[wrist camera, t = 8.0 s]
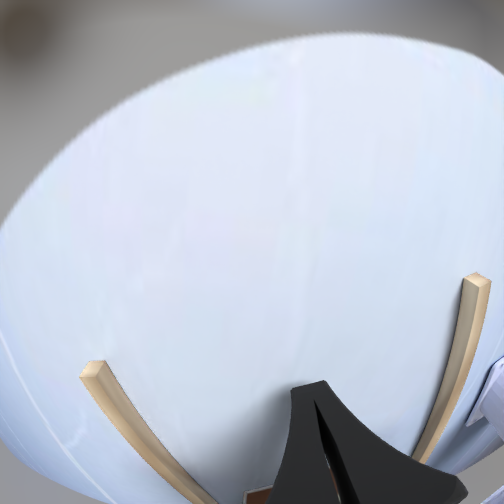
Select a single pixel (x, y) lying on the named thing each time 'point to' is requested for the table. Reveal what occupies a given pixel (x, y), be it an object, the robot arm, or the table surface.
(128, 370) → the table surface
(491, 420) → the robot arm
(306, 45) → the table surface
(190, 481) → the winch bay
